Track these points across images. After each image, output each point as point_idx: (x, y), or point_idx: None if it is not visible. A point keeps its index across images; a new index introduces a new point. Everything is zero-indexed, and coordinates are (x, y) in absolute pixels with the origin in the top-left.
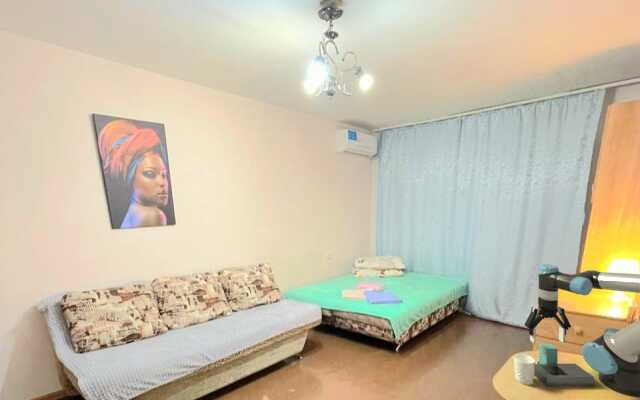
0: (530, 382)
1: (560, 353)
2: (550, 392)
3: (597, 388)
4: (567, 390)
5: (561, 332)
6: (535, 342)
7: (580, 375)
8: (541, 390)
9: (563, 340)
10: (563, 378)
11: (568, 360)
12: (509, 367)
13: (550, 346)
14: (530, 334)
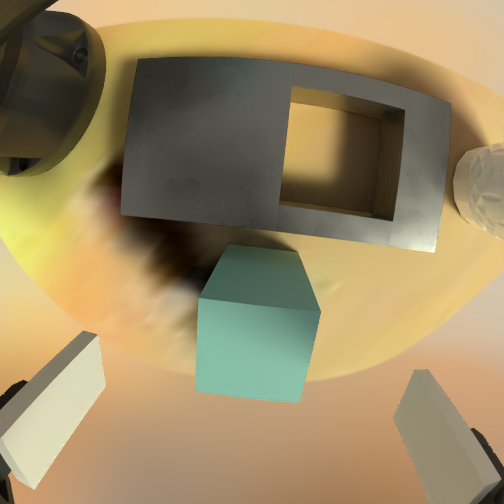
0: (487, 146)
1: None
2: (434, 75)
3: None
4: (342, 60)
5: (46, 425)
6: (418, 375)
7: (211, 73)
8: (461, 100)
9: (82, 347)
10: (349, 75)
11: (99, 312)
12: (463, 298)
13: (234, 348)
14: (481, 438)
